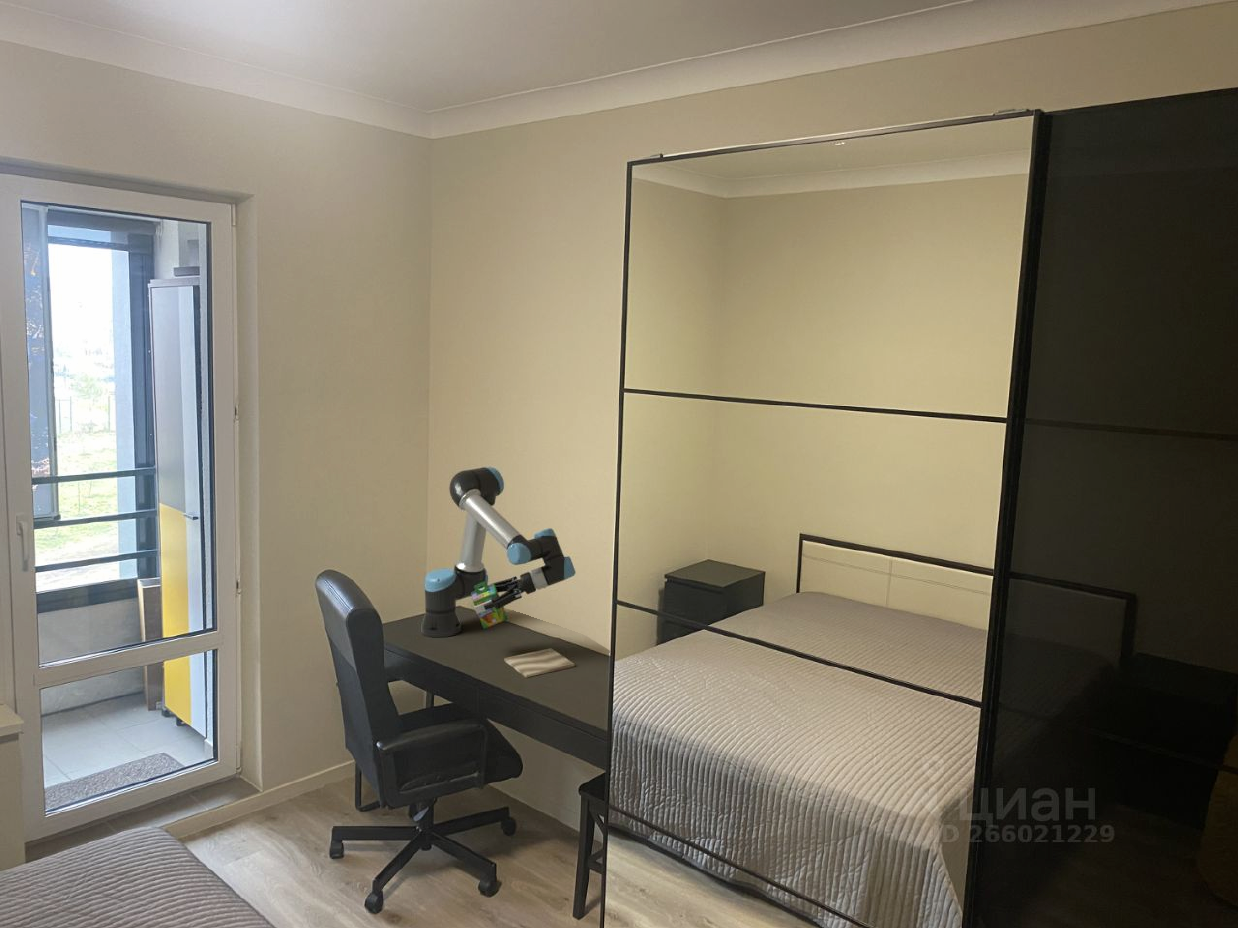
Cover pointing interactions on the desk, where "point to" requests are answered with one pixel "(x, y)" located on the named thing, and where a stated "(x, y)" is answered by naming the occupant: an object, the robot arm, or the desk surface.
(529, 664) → the birch board
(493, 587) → the chalk box
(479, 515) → the robot arm
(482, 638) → the desk surface
